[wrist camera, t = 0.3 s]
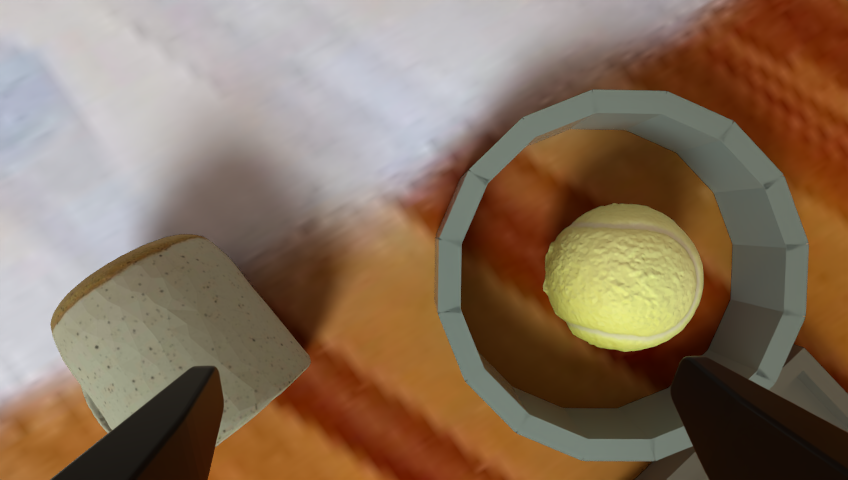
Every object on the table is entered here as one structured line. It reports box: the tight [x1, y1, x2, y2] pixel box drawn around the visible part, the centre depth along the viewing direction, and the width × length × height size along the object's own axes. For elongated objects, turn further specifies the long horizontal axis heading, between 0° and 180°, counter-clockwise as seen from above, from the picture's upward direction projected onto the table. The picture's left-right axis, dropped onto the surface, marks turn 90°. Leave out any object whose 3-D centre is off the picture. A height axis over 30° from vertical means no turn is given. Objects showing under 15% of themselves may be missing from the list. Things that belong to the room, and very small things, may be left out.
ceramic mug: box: [51, 234, 311, 447], centre depth 20 cm, size 11×8×8 cm
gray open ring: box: [434, 90, 809, 461], centre depth 22 cm, size 16×16×4 cm
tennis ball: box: [543, 203, 704, 352], centre depth 21 cm, size 6×7×7 cm
